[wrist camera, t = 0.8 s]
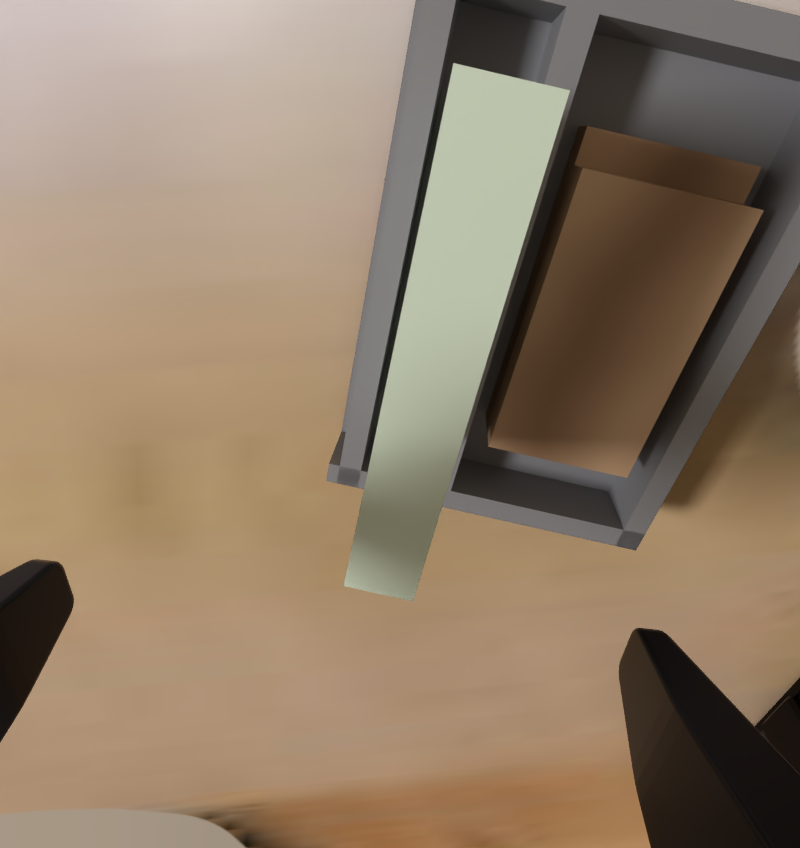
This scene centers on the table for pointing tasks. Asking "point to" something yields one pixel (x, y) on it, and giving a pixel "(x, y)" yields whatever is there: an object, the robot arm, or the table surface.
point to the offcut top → (614, 318)
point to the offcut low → (643, 165)
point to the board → (450, 313)
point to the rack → (586, 106)
